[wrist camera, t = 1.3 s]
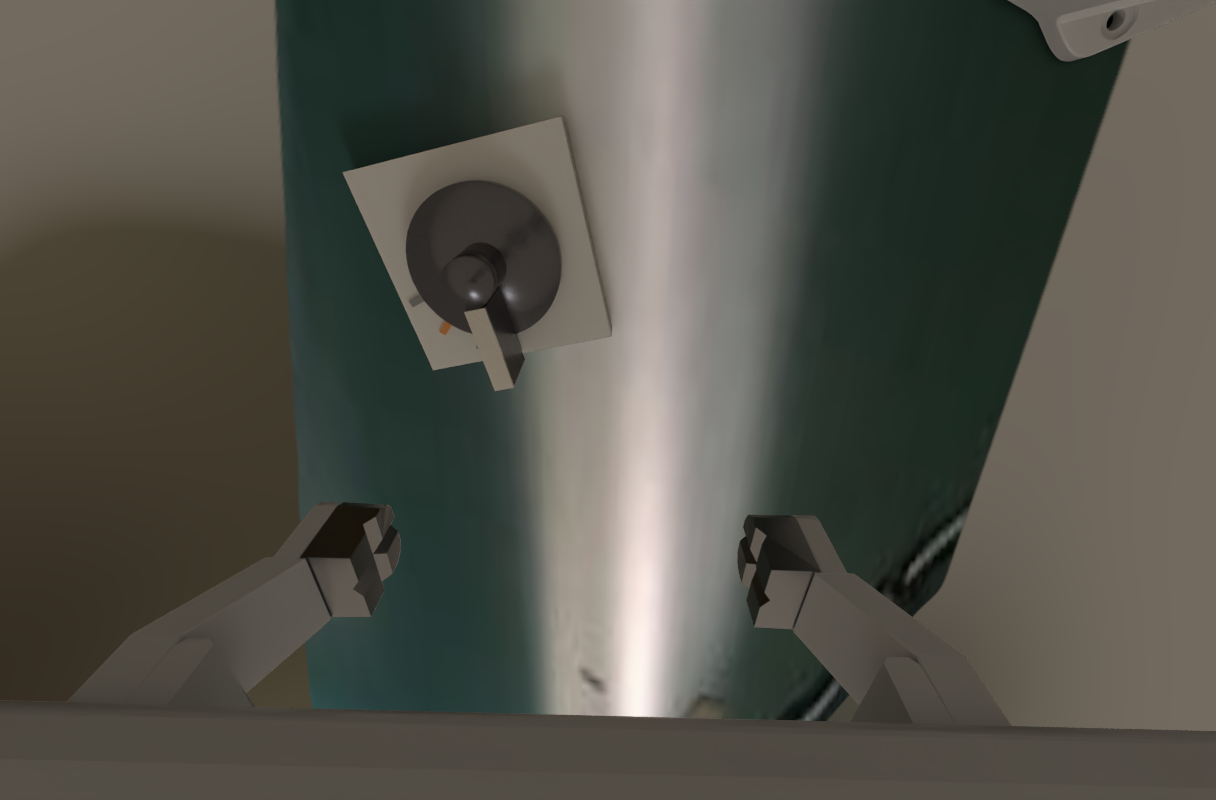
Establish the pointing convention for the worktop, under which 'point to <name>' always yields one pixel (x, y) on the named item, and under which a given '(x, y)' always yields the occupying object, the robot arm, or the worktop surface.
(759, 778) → the robot arm
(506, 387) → the dial
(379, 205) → the dial base
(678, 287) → the worktop surface
